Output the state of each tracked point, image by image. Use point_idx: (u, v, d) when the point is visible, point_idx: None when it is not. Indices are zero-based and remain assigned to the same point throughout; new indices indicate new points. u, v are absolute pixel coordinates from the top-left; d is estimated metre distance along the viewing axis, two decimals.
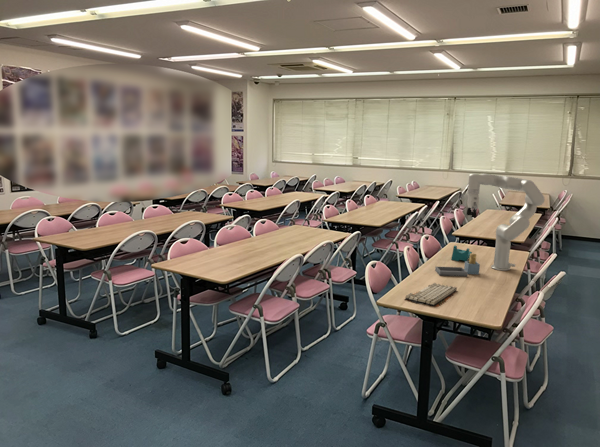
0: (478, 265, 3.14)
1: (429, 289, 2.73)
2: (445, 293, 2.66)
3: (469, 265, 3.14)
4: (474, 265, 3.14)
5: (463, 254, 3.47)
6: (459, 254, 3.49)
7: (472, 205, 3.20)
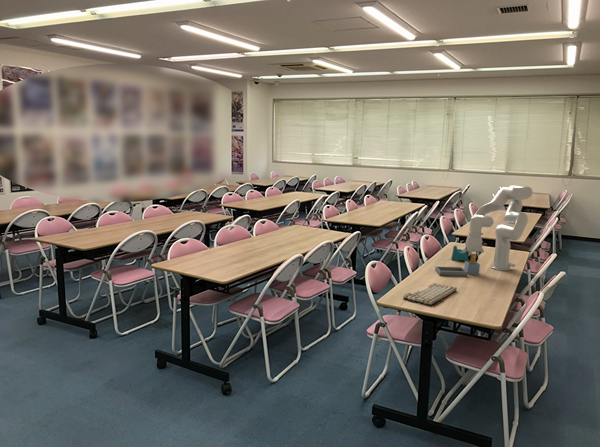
0: (478, 265, 3.14)
1: (428, 289, 2.73)
2: (444, 293, 2.66)
3: (469, 265, 3.14)
4: (474, 265, 3.14)
5: (463, 254, 3.47)
6: (459, 254, 3.49)
7: None
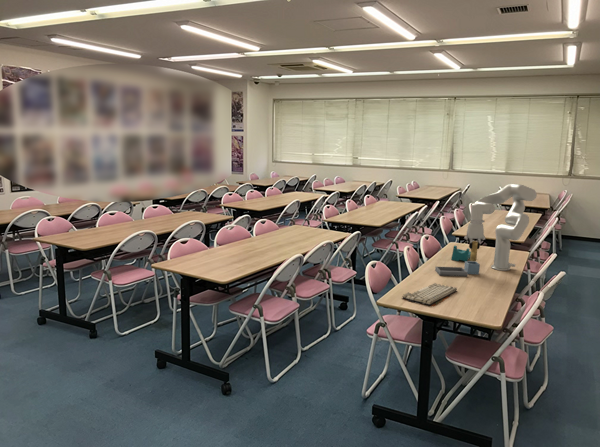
0: (478, 265, 3.14)
1: (428, 289, 2.73)
2: (443, 293, 2.66)
3: (469, 265, 3.14)
4: (474, 265, 3.14)
5: (463, 254, 3.47)
6: (459, 254, 3.49)
7: (482, 237, 3.13)
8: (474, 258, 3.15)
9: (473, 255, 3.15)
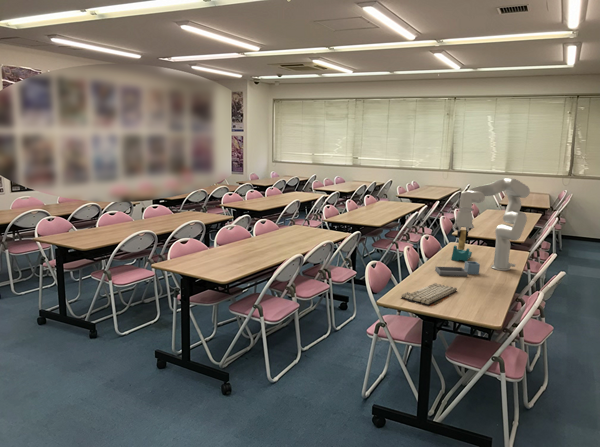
0: (478, 265, 3.14)
1: (428, 289, 2.74)
2: (443, 293, 2.66)
3: (469, 265, 3.14)
4: (474, 265, 3.14)
5: (463, 254, 3.47)
6: (459, 254, 3.48)
7: None
8: (462, 247, 3.11)
9: (461, 244, 3.11)
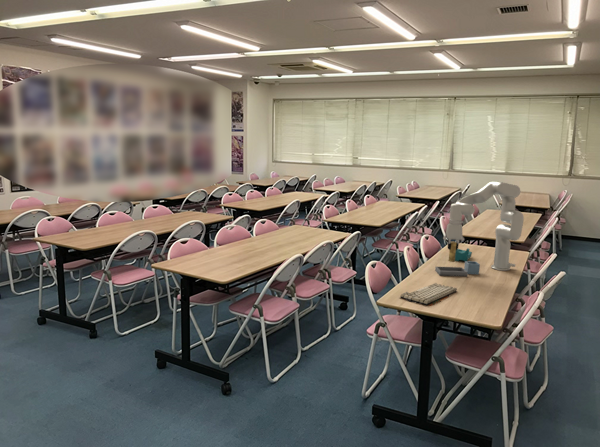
0: (478, 265, 3.14)
1: (427, 289, 2.74)
2: (442, 293, 2.66)
3: (469, 265, 3.14)
4: (474, 265, 3.14)
5: (463, 254, 3.47)
6: (459, 254, 3.48)
7: None
8: (452, 259, 3.12)
9: (451, 256, 3.11)
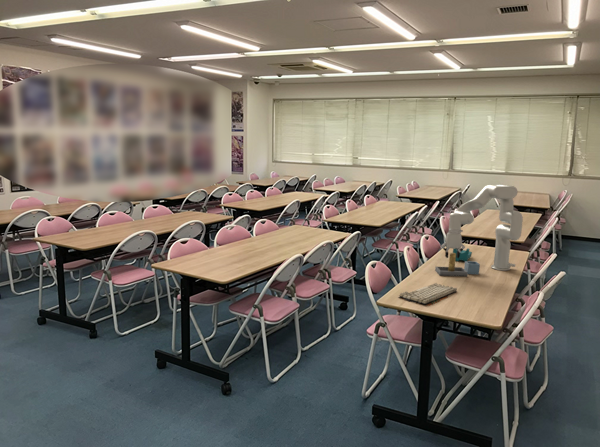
0: (478, 265, 3.14)
1: (427, 289, 2.74)
2: (441, 293, 2.66)
3: (469, 265, 3.14)
4: (474, 265, 3.14)
5: (463, 254, 3.47)
6: None
7: None
8: (452, 270, 3.13)
9: (451, 267, 3.13)
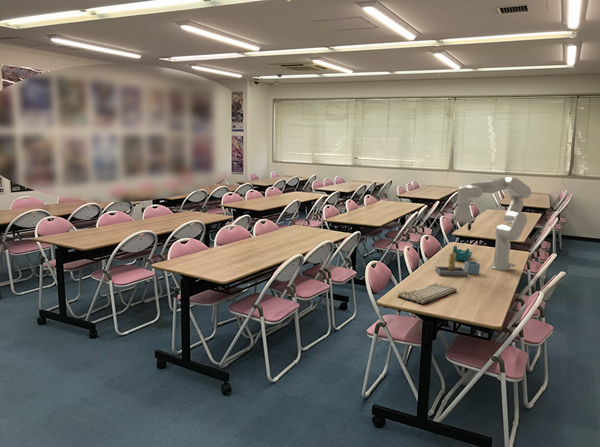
0: (478, 265, 3.14)
1: (426, 288, 2.74)
2: (440, 293, 2.66)
3: (469, 265, 3.14)
4: (474, 265, 3.14)
5: (463, 254, 3.47)
6: (459, 254, 3.48)
7: (470, 218, 3.13)
8: (452, 270, 3.13)
9: (451, 267, 3.13)
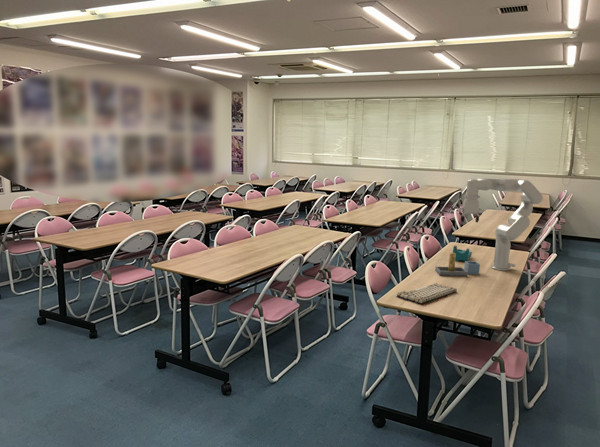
0: (478, 265, 3.14)
1: (426, 288, 2.74)
2: (440, 293, 2.66)
3: (469, 265, 3.14)
4: (474, 265, 3.14)
5: (463, 254, 3.47)
6: (459, 254, 3.48)
7: (478, 210, 3.20)
8: (452, 270, 3.13)
9: (451, 267, 3.13)
